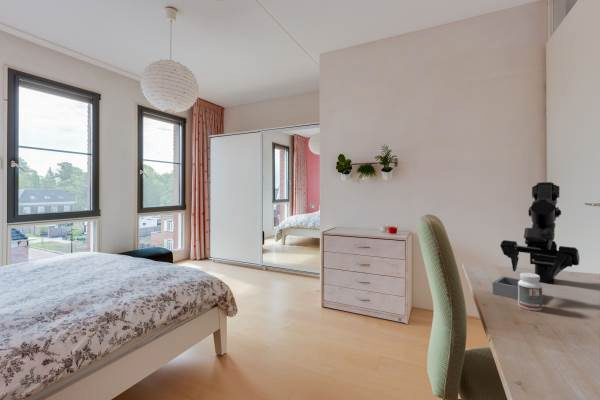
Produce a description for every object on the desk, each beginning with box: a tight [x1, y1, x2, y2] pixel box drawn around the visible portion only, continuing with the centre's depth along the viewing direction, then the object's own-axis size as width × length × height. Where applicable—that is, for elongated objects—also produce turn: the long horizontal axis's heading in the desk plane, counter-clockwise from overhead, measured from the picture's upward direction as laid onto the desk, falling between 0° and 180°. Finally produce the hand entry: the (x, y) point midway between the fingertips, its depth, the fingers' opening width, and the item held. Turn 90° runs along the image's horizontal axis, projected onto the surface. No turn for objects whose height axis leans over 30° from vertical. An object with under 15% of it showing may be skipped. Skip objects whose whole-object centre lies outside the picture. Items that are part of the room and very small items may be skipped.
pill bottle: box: [517, 272, 543, 311], centre depth 85 cm, size 6×6×10 cm
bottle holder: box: [492, 275, 521, 300], centre depth 95 cm, size 10×10×4 cm
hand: (532, 273), depth 86 cm, fingers open, 9 cm apart
